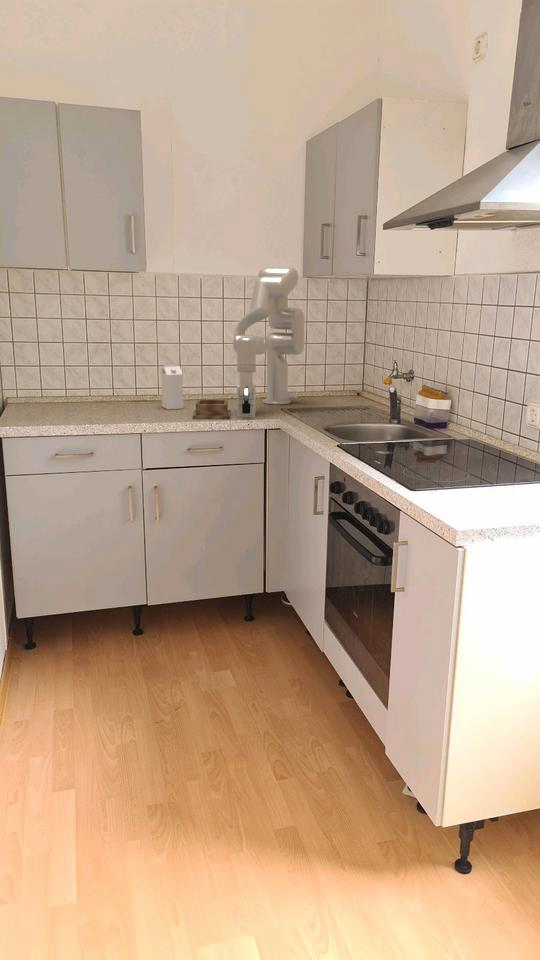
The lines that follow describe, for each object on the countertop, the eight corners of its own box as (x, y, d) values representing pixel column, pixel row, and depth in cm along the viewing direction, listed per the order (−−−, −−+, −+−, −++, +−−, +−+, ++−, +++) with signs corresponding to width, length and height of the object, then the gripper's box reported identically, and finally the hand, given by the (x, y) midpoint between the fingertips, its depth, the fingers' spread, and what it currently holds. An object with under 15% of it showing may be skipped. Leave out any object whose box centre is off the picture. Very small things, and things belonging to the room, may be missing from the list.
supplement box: (238, 414, 293) (238, 384, 290) (255, 414, 293) (255, 384, 290) (236, 417, 286) (236, 386, 283) (254, 417, 286) (254, 386, 282)
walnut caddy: (230, 412, 297) (230, 399, 295) (230, 419, 282) (229, 405, 281) (195, 412, 296) (194, 399, 295) (192, 419, 282) (192, 405, 280)
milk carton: (162, 407, 307) (160, 363, 302) (177, 406, 310) (176, 362, 305) (167, 409, 301) (166, 365, 296) (183, 408, 304) (182, 364, 299)
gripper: (237, 365, 293) (237, 407, 297) (236, 370, 276) (236, 415, 281) (255, 366, 293) (255, 408, 298) (255, 371, 276) (255, 415, 281)
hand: (246, 411), depth 289 cm, fingers closed on supplement box, 7 cm apart
